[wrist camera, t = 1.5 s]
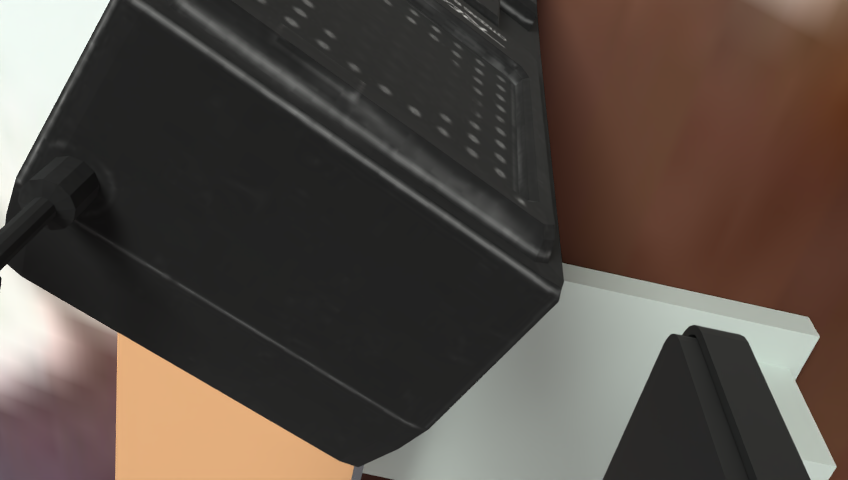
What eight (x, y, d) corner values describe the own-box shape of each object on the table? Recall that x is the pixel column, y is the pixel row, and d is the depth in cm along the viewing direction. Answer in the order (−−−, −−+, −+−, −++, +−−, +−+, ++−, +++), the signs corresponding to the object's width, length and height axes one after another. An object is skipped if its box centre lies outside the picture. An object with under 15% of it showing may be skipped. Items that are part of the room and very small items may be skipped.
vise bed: (808, 317, 37) (873, 432, 31) (695, 521, 44) (728, 650, 38) (204, 184, 36) (140, 273, 30) (187, 414, 43) (132, 527, 37)
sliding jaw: (402, 287, 36) (387, 363, 31) (365, 447, 41) (347, 534, 36) (167, 235, 36) (117, 305, 31) (158, 403, 41) (114, 485, 36)
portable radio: (569, -52, 30) (741, 396, 8) (469, 73, 33) (406, 656, 11) (396, -194, 28) (53, -87, 7) (305, -50, 31) (-151, 363, 9)
